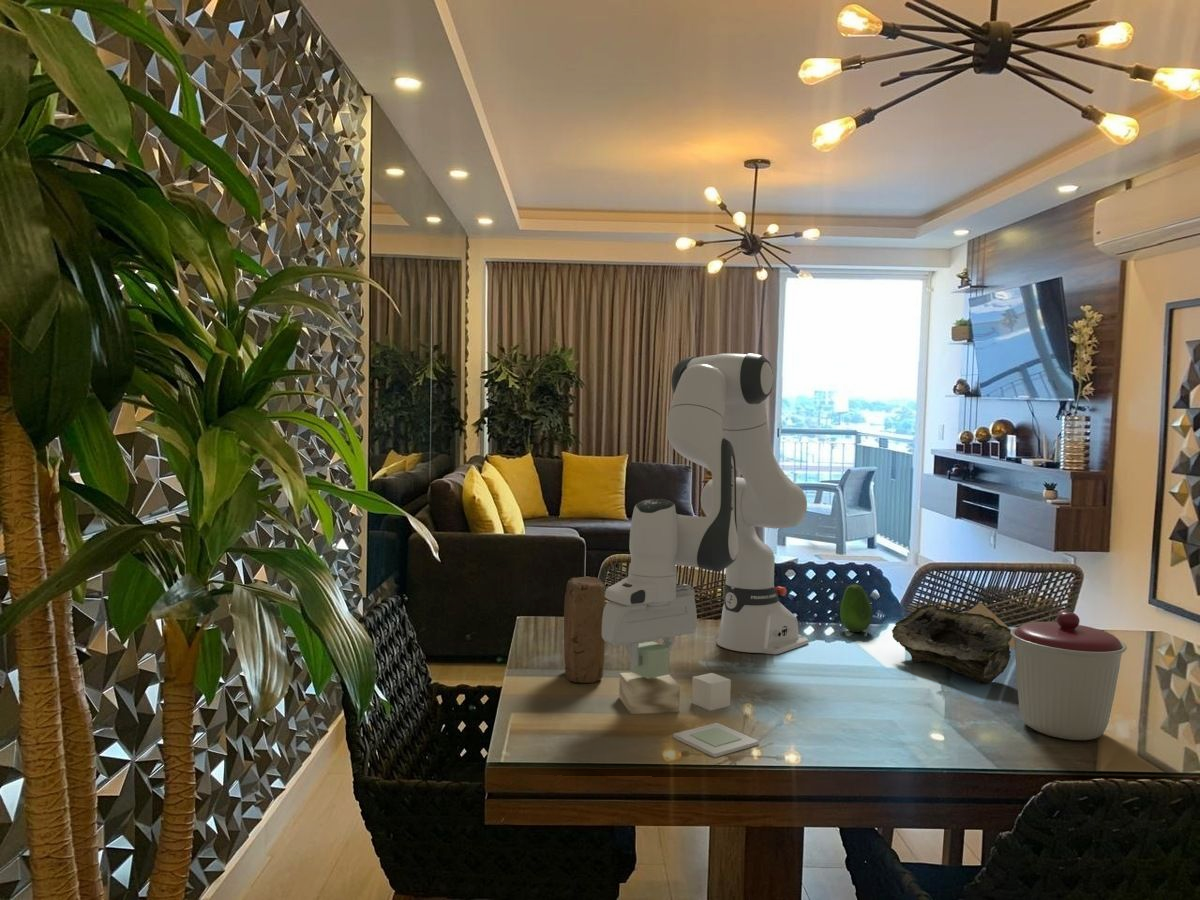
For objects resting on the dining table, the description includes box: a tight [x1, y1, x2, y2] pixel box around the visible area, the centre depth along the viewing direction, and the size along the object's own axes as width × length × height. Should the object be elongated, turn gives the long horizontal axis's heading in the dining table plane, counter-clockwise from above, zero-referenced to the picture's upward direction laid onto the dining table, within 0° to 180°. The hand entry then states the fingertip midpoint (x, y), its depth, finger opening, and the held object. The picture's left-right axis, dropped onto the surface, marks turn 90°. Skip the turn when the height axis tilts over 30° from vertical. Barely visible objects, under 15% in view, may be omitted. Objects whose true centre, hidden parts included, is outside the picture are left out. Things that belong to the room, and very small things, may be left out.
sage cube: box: [630, 640, 671, 679], centre depth 164 cm, size 5×5×5 cm
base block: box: [618, 671, 681, 715], centre depth 165 cm, size 9×9×5 cm
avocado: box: [839, 583, 873, 633], centre depth 223 cm, size 8×8×12 cm
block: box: [563, 576, 606, 684], centre depth 180 cm, size 11×8×20 cm
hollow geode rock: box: [891, 604, 1012, 685], centre depth 191 cm, size 28×13×15 cm
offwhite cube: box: [691, 672, 732, 711], centre depth 166 cm, size 5×5×5 cm
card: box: [672, 722, 760, 758], centre depth 148 cm, size 10×10×1 cm
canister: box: [1010, 611, 1128, 741], centre depth 157 cm, size 18×18×21 cm
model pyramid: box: [966, 602, 1015, 650], centre depth 218 cm, size 17×17×10 cm
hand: (649, 662), depth 165 cm, fingers closed on sage cube, 5 cm apart
